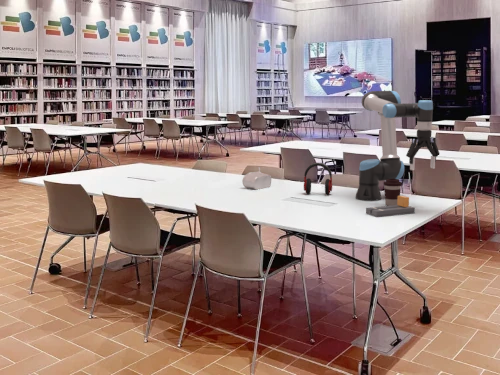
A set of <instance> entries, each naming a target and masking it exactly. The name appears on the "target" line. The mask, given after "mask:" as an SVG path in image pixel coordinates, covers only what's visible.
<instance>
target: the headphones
mask: <svg viewBox="0 0 500 375" xmlns="http://www.w3.org/2000/svg"><path fill="white" fill-rule="evenodd" d="M314 167H321V168H324V169H326V171H327V172H328V174H329V178H330V179H329V178H326V179H325V183H324V193H325V195H327V196H328V195H330V193H331V192H332V191H333V174H332V170H331V169H330V167H329V166H328V165H327V164H325V163H323V162H314V163H312V164H310V165H309V166H307V168H306V169H305V172H304V175H303V176H304V177H303V181H304V182H303V190H304V191H305V194H306V195H310V194H311V192H312V180H311V178H307V175H308V172H309V171H310V170H311V169H312V168H314Z"/></svg>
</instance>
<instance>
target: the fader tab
mask: <svg viewBox="0 0 500 375" xmlns="http://www.w3.org/2000/svg"><path fill="white" fill-rule="evenodd" d="M409 204H410V197H409V196H405V195H401V194H400V196H398V199H397V205H399V206H401V207H409V206H410V205H409Z"/></svg>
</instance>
